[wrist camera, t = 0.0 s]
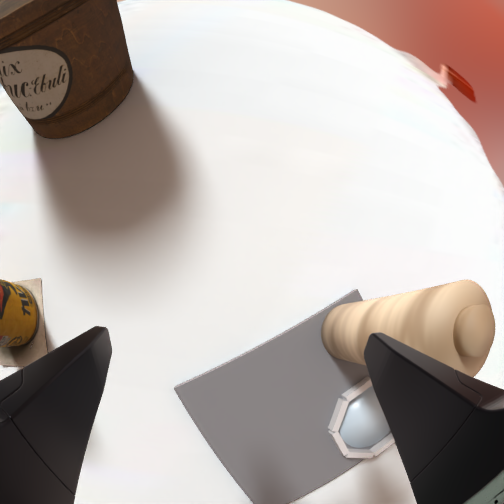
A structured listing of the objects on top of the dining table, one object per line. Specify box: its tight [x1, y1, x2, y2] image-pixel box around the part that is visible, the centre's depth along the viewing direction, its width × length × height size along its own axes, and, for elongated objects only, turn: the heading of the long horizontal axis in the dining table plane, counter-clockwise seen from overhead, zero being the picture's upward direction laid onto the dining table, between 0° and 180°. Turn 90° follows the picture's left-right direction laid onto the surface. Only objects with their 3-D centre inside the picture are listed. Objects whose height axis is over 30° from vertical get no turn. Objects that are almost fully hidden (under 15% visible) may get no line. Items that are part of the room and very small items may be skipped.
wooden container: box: [0, 0, 133, 138], centre depth 16 cm, size 15×15×22 cm
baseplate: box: [174, 289, 395, 504], centre depth 22 cm, size 16×18×2 cm
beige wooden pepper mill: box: [321, 280, 495, 377], centre depth 17 cm, size 5×5×15 cm
